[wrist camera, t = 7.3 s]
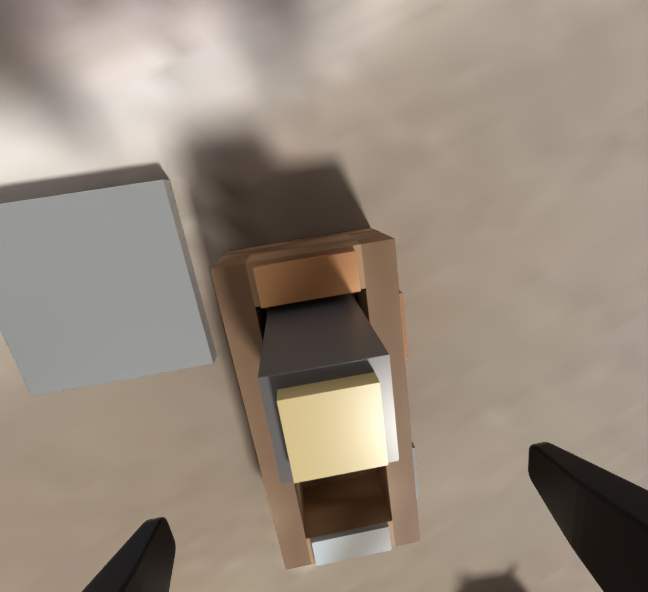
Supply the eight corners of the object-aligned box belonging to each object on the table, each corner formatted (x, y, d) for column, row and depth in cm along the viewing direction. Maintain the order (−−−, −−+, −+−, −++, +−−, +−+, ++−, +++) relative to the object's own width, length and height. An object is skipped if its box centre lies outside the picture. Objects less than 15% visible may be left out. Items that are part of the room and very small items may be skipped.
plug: (283, 358, 20) (280, 499, 11) (270, 292, 19) (255, 388, 10) (351, 346, 20) (404, 474, 11) (343, 280, 19) (395, 364, 10)
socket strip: (286, 502, 24) (285, 575, 20) (227, 251, 19) (208, 270, 14) (401, 479, 25) (426, 544, 20) (376, 227, 19) (403, 238, 15)
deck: (43, 386, 20) (31, 396, 19) (-36, 210, 17) (-55, 212, 16) (216, 355, 21) (213, 363, 20) (169, 179, 18) (162, 179, 17)
